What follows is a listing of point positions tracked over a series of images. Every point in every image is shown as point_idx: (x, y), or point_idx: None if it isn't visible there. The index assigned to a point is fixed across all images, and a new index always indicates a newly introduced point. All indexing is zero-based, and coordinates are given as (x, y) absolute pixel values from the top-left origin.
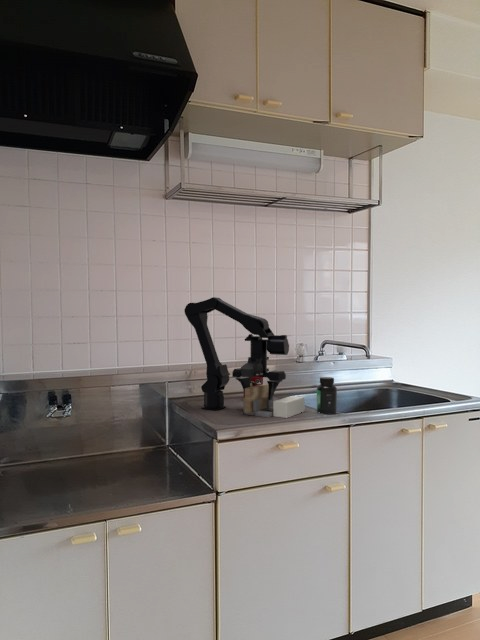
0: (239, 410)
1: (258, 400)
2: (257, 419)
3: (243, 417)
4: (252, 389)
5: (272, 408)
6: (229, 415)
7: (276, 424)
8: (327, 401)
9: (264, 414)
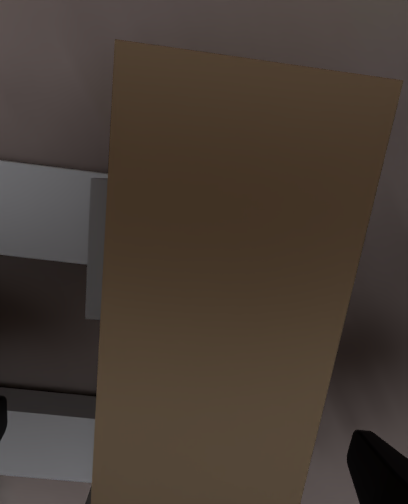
0: (368, 323)
1: (89, 272)
2: (29, 10)
3: (202, 37)
4: (114, 254)
5: (77, 416)
6: (374, 63)
7: None
8: None
9: (21, 163)
